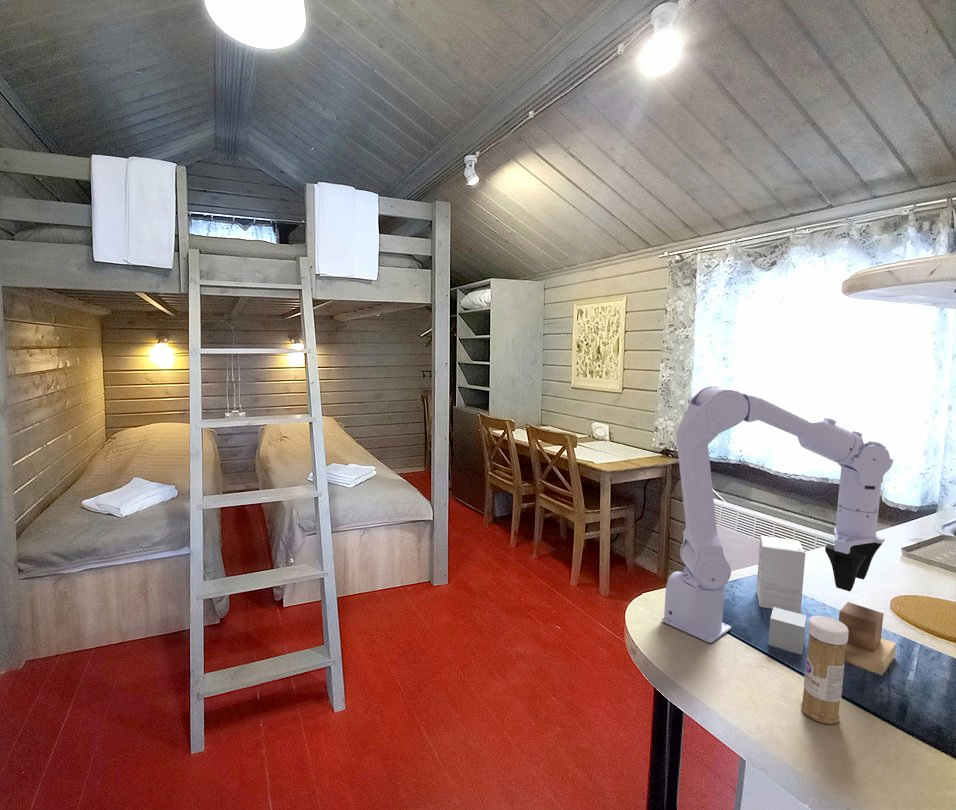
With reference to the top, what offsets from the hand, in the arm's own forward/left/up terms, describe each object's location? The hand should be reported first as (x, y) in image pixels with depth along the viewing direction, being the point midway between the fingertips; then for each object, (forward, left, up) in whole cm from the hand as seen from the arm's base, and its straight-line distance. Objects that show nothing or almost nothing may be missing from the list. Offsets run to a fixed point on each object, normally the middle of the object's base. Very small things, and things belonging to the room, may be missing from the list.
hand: (850, 583), depth 90 cm
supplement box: (-13, +5, -11) cm, 18 cm away
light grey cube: (-6, -10, -10) cm, 16 cm away
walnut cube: (+3, -4, -8) cm, 9 cm away
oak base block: (+3, -4, -11) cm, 12 cm away
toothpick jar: (+4, -26, -11) cm, 28 cm away
